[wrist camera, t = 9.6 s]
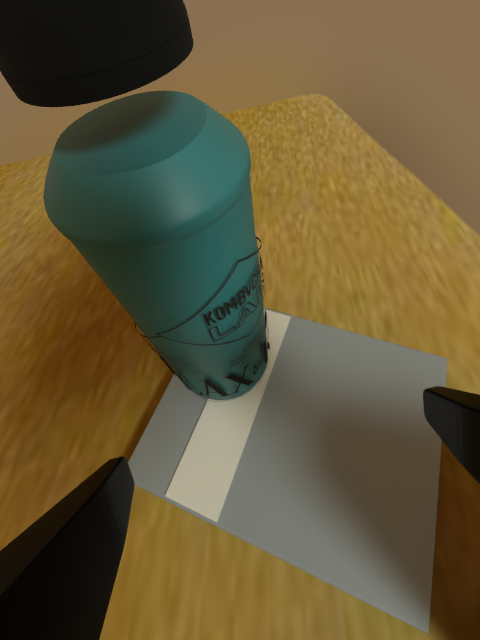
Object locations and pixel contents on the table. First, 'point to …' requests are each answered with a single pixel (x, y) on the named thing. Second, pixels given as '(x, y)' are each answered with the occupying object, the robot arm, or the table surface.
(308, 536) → the grey flat rectangular block
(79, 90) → the beverage bottle
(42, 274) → the table surface
